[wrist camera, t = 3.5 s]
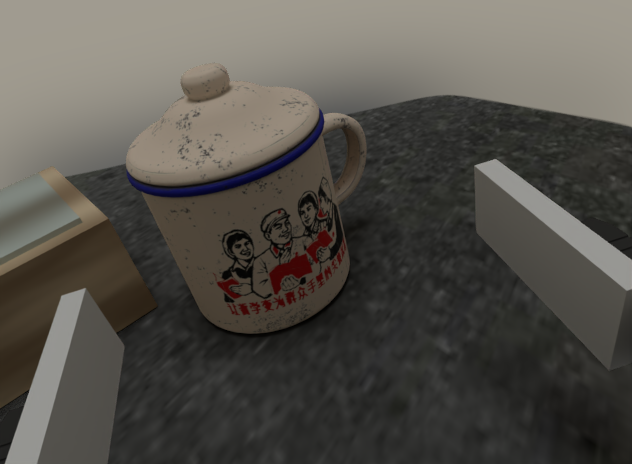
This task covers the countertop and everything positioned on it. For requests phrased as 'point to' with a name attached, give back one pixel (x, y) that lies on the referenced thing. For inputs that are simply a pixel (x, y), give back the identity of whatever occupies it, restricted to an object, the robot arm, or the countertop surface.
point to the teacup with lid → (249, 198)
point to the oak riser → (56, 270)
